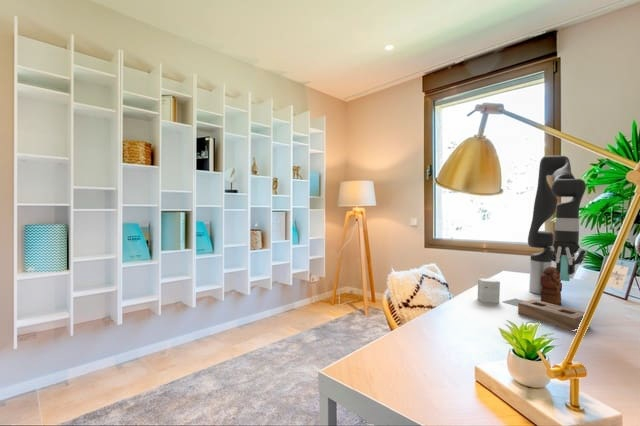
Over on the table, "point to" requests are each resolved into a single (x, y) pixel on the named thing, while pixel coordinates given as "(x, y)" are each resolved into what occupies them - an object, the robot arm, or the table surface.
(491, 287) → the small box
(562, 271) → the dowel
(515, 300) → the mat
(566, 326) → the socket block
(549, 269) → the wooden figurine
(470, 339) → the table surface
